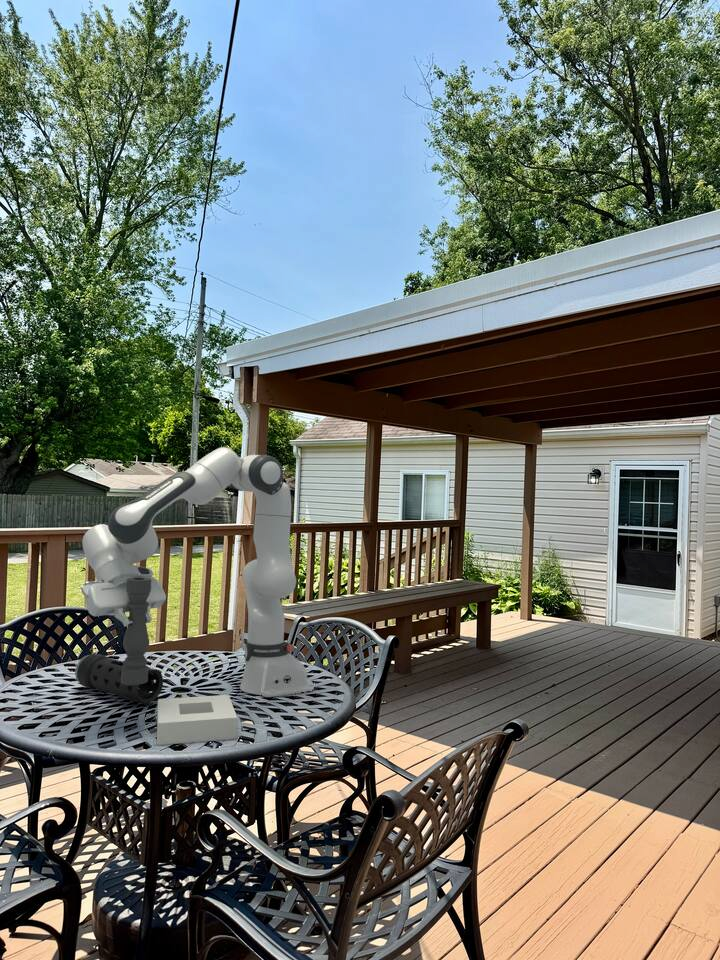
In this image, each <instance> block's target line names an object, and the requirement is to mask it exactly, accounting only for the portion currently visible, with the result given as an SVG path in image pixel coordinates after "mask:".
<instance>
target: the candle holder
mask: <svg viewBox="0 0 720 960" xmlns="http://www.w3.org/2000/svg"><path fill="white" fill-rule="evenodd" d="M126 592H127V593H128V594H127V595H128V597H129V600H130V602H129V603H127V607H128V608H129V612H128V613H129V615H128V617H129V616H130V617H131V619H132V621H133V623H132V624H131V626H126V627H127V628H126V630H125V633H124V638H123V640H122V646H123V650H124V651H125V652H126V653H125V655H126V657H125V658H124V660H123V665H124V667H122V670H121V683H122V684H124V685H139V684H144V683H146V682H147V681H148V668H149V665H147V664H148V660H147V658H146V656H145V654H146V651H147V650H148V648H149V646H150V639H149V633H148V628H147V623H146V609H147V607H148V606H149V603H148V602H147V601H146V600H147V599H148V596H149V593H150V592H151V578H128V579H127V590H126Z"/></svg>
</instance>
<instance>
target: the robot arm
mask: <svg viewBox="0 0 720 960" xmlns="http://www.w3.org/2000/svg"><path fill="white" fill-rule="evenodd" d="M283 471H284V470H283V467H282V465H281V463H280V461H279V460H278V459H277V458H275V457H273V456H271V455H268V454H250V455H246V456H239V455H238V454H237V453H236V452H235V451H234V450H232V449H230V448H228V447H225V446H222V447H221V446H220V447H218V448H216V449H215V450H212V451H211V452H210V453H208V454H206V455H205V456H203V457H202V458H201V459H199V460H197V462H195V463H194V464H193V465H192V466H190V467H189V468H188V469H186V470H185V471H180V472H179V471H178V472H177V473H174V474H172V475H170V476H169V477H167V478H165V480H162V481H161V482H160V483H158V484H156V486H154V487H153V488H151V489H149V490H147V491H146V492H144V493H143V494H142V495H140V496H138V497H137V498H135V499H133V500H130V501H128V502H125V503H123V504H121V505H120V506H117V507H116V508H115V509H114V510H113V511H112V512H111V514H109V517H108V520H107V524H104V523H100V524H97V525H94V526H92V527H90V528H89V529H88V530H87V531H86V532H85V533H84V535H83V537H82V550H83V552H84V556H85V558H86V560H87V562H88V565H89V566H90V567H91V569H92V570H93V571H94V577H95V580H94V581H85V582H84V583H83V584H82V585H81V587H80V590H81V593H82V595H83V596H84V600H85V605H86V609H87V611H88V614H89V615H91V616H93V617H94V618H95V617H101V616H108V615H109V616H110V615H113V616H114V617H115V619H117V620H118V621H120V622H121V623H122V625H123V627H124V628H125V627H127V626H131V624H132V623H133V621H132V619H131V617H130V616H129V615H128V616H127V615H126V613H129V608H128V607H127V603H129V602H130V600H129V597H128V595H127V594H128V593H127V592H126V590H127V579H128V578H151V592H150V593H149V596H148V599H147V600H146V601H147V602H148V603H149V606H148V607H147V609H146V624H150V623H151V622H152V621H153V620H152V619H153V618H152V616H151V610H152V609H158V608H160V607H162V606H163V604H164V603H165V602H166V601H167V600H166V599H167V595H166V593H165V590H164V588H163V587H162V585H161V584H160V582H159V581H158V579H156V578H155V577H154V576H153V575H154V572H153V570H152V569H151V568H149V567H143V566H140V565H135V564H138V563H140V562H142V561H145V560H148V559H150V558H151V557H152V556H154V554H155V553H156V552H157V550H158V548H159V538H158V535H157V533H156V530H155V529H154V526H153V521H154V519H155V517H156V516H157V515H158V514H159V513H161V512H162V511H164V510H165V509H167V508H168V507H169V506H170V505H171V506H172V504H173V503H175V502H176V501H178V500H182V499H183V500H186V501H187V502H188V503H190V504H193V505H199V506H200V505H202V506H203V505H206V504H208V503H209V502H211V501H213V500H214V499H215V498H216V497H218V496H220V494H221V493H222V492H223V491H224V490H225V489H226V488H228V487H231V488H232V489H234V490H235V491H236V490H237V491H239V492H240V491H241V492H249V493H253V494H254V497H255V501H256V502H255V503H256V505H255V511H254V512H255V514H254V526H253V536H252V537H253V542H254V546H255V553H256V558H255V559H253V560H251V561H249V562H248V563H247V564H246V565H245V566H244V567H243V570H242V576H241V577H242V581H243V582H244V591H245V596H246V597H245V598H246V606H247V615H248V616H247V617H248V618H247V640H246V641H245V646H244V660H245V665H244V671H243V674H242V675H243V676H242V679H241V682H240V685H239V690H241V691H243V692H244V693H247V694H252V695H259V696H261V695H262V696H261V697H266V698H272V697H279V696H287V695H294V694H295V693H296V694H302V693H301V692H304V693H307V692H306V691H311V692H313V691H314V690H315V685H314V683H313V681H312V680H311V679H309V678H308V675H307V670H306V666H304V664H303V663H302V662H301V661H299V660H298V659H297V658H296V657H295V656H293V655H292V654H291V653H292V652H293V651H294V646H293V644H291V643H289V642H287V641H285V640H284V638H285V637H284V636H285V619H286V618H285V613H284V610H283V607H282V601H281V599H283V598H287V597H289V596H290V595H291V594H292V593H293V592H294V591H295V588H296V584H297V578H296V574H295V573H294V570H293V563H292V556H291V546H290V538H291V537H290V536H291V522H292V521H291V519H292V517H291V516H292V498H291V497H292V495H291V490H290V486H289V484H287V483H286V482H284V481H285V478H284V473H283ZM313 689H314V690H313ZM312 690H313V691H312ZM296 694H295V695H296Z"/></svg>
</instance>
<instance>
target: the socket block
mask: <svg viewBox="0 0 720 960" xmlns="http://www.w3.org/2000/svg"><path fill="white" fill-rule="evenodd" d="M237 727H238V716H237V714H236V711H235V709H234V705H233V703H232V700H231V697H230V695H229V694H222V695H207V696H205V695H204V696H191V697H189V696H188V697H187V696H185V697H174V698H173V697H172V698H170V697H168V698H157V712H156V746H163V745H164V746H165V745H174V744H175V745H176V744H188V743H191V744H192V743H203V742H212V741H213V742H214V741H225V740H226V741H227V740H228V741H229V740H237V731H238V730H237V729H238V728H237Z"/></svg>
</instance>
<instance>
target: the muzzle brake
mask: <svg viewBox="0 0 720 960" xmlns="http://www.w3.org/2000/svg"><path fill="white" fill-rule="evenodd" d="M123 661H124V660H123ZM123 661H122V660H119V659H114V658H109V656H106V655H103V654H99V653H92V654H88V655H85V656H83V657H82V658H80V660H79V661H78V662H77V664H76V666H75V669H74V676H75V679H76V680H77V681H78V683H79V684H80V685H81V686H82V687H85V688H89V689H91V690H97V693H99V692H100V693H99V694H102V693H104V694H103V695H107V694H106V693H108V694H112V695H115V696H117V698H118V699H123V700H125V701H128V700H129V701H128V702H131V701H132V702H131V703H134V702H137V703H136V704H138V703H141V704H144V705H148V706H150V705H151V703H152V702H154V701H155V700H156V699H158V697H159V696H160V694H161V692H162V691H163V686H164V678H163V675H162V673H161V672H160V671H159V670H157V669H154V668H151V667H148V681H147V682H146V683H144V684H139V685H124V684H122V683H121V670H122V667H124V665H123ZM141 704H140V705H141ZM149 704H150V705H149ZM144 705H143V706H144Z"/></svg>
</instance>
